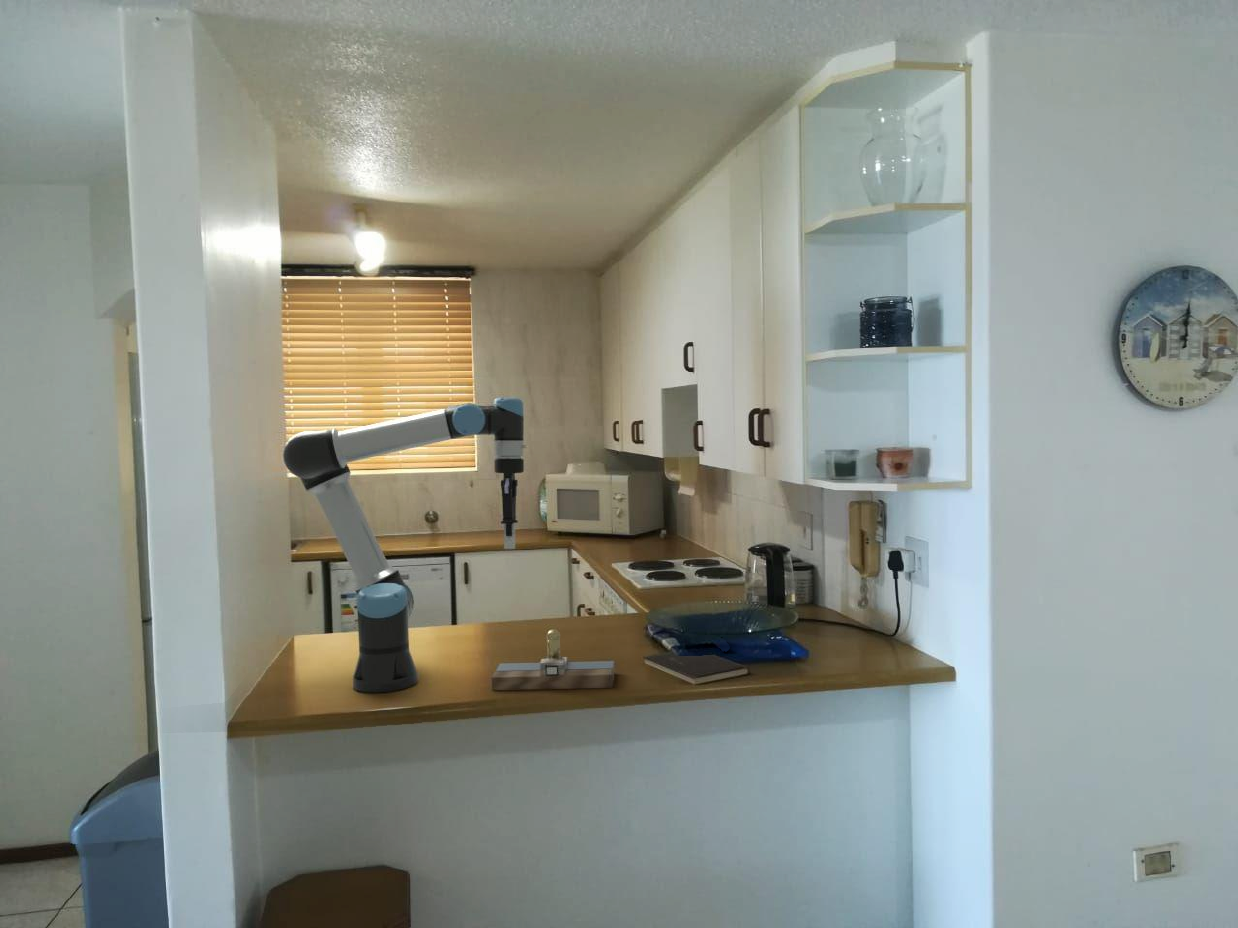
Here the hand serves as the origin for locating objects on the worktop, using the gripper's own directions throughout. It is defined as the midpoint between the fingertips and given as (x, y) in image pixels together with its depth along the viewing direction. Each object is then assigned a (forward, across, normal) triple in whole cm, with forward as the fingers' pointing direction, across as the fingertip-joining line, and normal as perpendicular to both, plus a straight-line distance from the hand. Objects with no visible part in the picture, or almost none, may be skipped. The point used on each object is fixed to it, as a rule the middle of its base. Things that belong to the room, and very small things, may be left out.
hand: (509, 548), depth 229 cm
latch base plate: (+29, -17, -13) cm, 36 cm away
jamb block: (+29, -23, -13) cm, 40 cm away
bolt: (+26, -22, -13) cm, 36 cm away
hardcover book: (+29, -12, -47) cm, 57 cm away
